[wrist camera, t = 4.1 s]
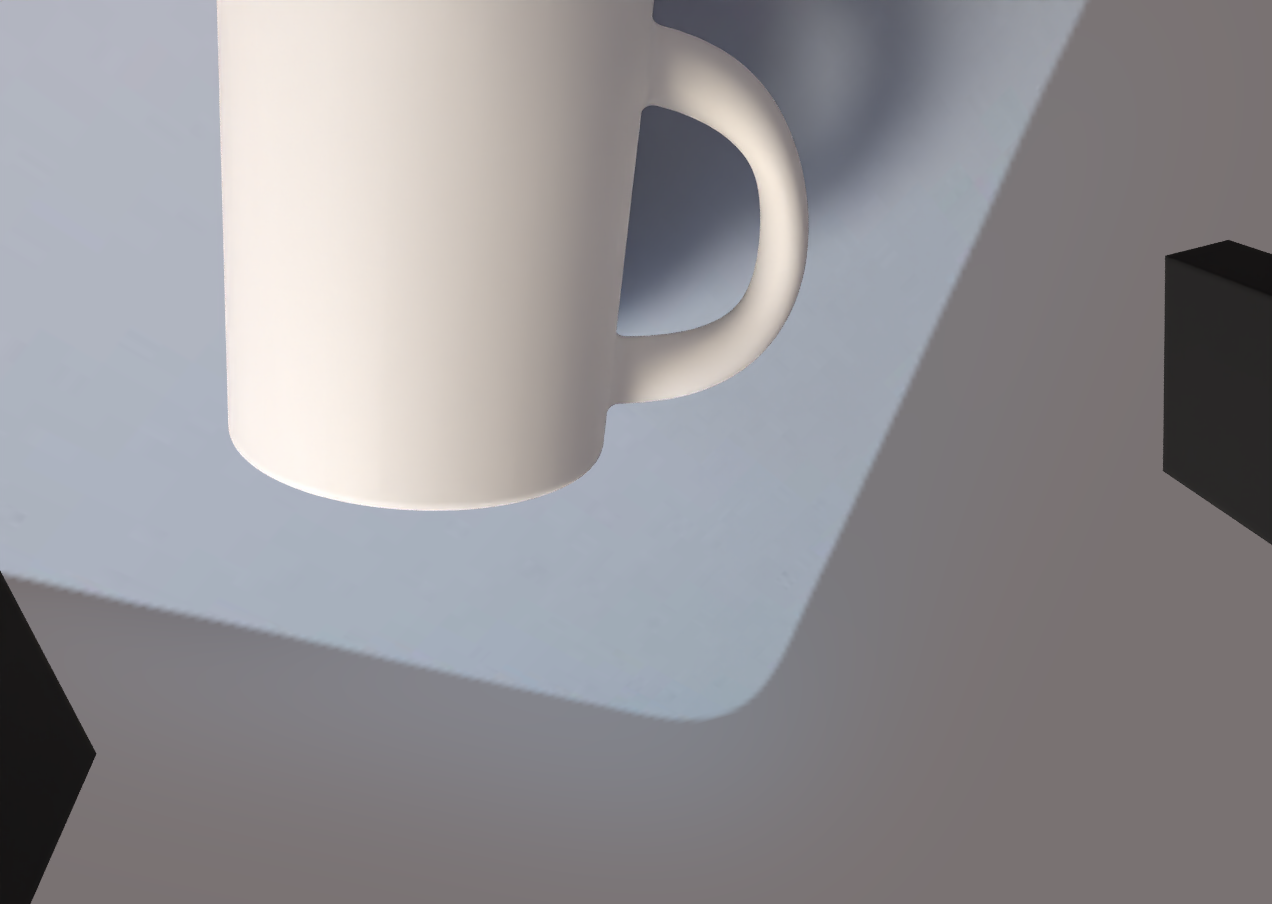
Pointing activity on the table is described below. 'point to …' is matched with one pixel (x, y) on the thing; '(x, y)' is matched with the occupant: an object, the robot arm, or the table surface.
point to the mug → (463, 238)
